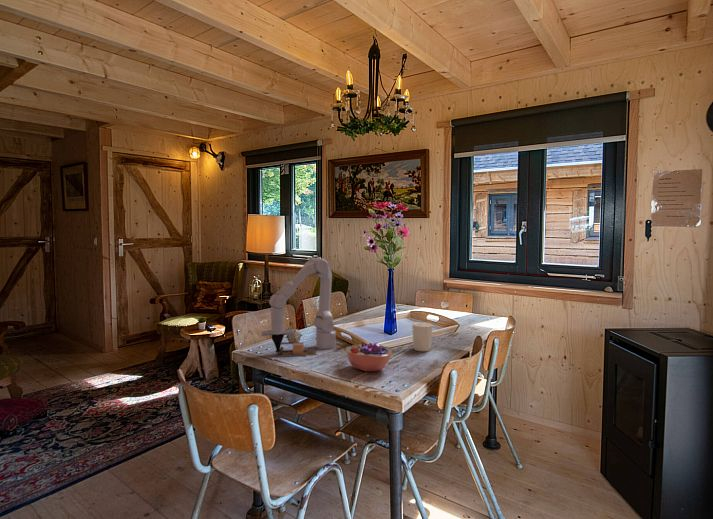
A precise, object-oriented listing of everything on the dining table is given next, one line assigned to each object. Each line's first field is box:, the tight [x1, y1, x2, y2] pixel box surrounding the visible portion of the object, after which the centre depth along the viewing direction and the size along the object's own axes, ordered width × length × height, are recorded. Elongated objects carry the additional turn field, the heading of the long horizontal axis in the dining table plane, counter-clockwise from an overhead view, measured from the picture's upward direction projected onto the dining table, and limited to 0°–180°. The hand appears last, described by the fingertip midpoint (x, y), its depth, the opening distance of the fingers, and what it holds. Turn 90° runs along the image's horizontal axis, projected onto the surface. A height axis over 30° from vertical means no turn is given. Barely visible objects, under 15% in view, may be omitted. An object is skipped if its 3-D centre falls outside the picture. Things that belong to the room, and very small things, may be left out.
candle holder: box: [411, 321, 434, 352], centre depth 207 cm, size 10×10×12 cm
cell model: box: [345, 342, 393, 372], centre depth 177 cm, size 17×20×11 cm
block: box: [292, 342, 304, 355], centre depth 195 cm, size 4×4×4 cm
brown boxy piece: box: [279, 346, 317, 357], centre depth 195 cm, size 16×6×4 cm, turn 95°
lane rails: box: [273, 349, 308, 358], centre depth 195 cm, size 14×8×2 cm, turn 95°
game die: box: [284, 327, 302, 344], centre depth 216 cm, size 9×8×10 cm
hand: (278, 351), depth 194 cm, fingers closed
